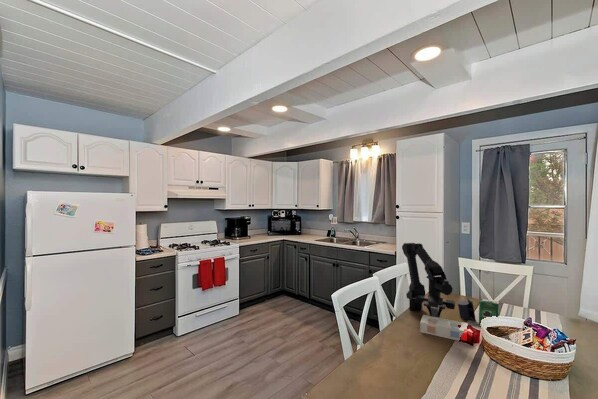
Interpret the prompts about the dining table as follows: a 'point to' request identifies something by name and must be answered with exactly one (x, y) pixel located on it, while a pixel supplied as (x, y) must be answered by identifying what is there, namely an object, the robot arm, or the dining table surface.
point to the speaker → (466, 310)
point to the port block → (442, 327)
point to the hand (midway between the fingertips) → (434, 317)
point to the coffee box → (487, 309)
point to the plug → (434, 312)
